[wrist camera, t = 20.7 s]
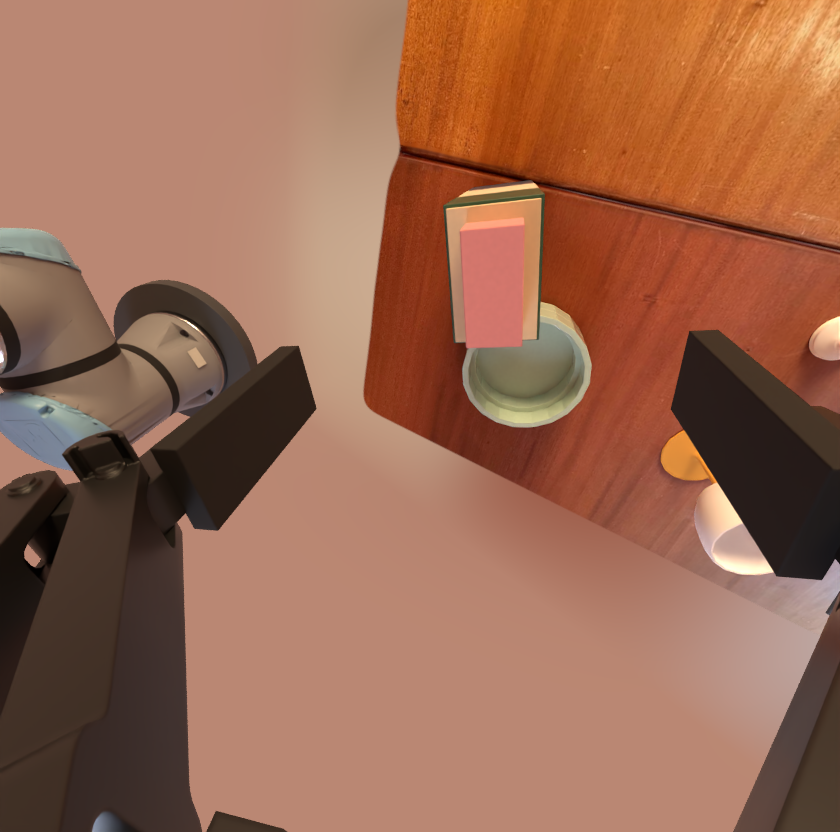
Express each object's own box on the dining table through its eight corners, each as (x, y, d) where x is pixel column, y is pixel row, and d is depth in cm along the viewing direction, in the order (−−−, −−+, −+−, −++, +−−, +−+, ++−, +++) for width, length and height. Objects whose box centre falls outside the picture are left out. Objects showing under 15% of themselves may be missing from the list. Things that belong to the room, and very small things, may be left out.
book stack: (477, 274, 48) (453, 343, 29) (473, 187, 43) (443, 205, 25) (529, 270, 46) (539, 340, 28) (531, 180, 42) (544, 193, 23)
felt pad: (456, 340, 29) (455, 342, 29) (446, 208, 25) (445, 209, 24) (536, 337, 28) (536, 339, 28) (541, 197, 24) (541, 198, 23)
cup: (645, 461, 56) (685, 554, 43) (694, 414, 51) (758, 502, 38) (700, 489, 57) (757, 588, 44) (755, 444, 52) (838, 542, 39)
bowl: (470, 403, 57) (466, 426, 52) (464, 302, 50) (458, 318, 45) (578, 403, 54) (584, 428, 49) (589, 295, 46) (597, 311, 41)
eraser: (464, 223, 25) (459, 229, 22) (523, 217, 24) (524, 223, 21) (470, 332, 28) (466, 348, 26) (521, 330, 27) (522, 347, 25)
